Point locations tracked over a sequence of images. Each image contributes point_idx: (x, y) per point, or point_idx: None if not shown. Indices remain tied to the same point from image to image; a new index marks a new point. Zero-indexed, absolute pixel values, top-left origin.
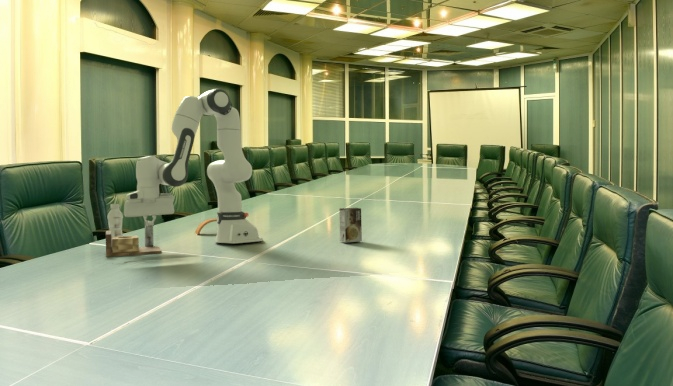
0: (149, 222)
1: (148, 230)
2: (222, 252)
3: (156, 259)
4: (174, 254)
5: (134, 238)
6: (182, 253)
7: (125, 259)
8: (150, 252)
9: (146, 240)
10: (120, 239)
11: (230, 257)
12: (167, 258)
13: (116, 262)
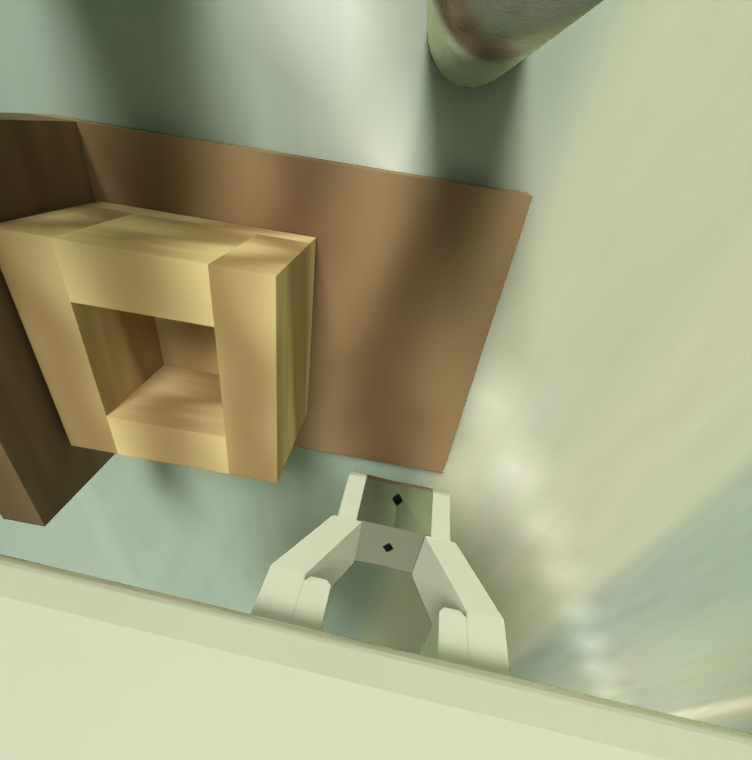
0: (373, 560)
1: (480, 45)
2: (708, 606)
3: (363, 586)
4: (483, 532)
5: (246, 473)
6: (534, 529)
7: (239, 523)
8: (374, 456)
9: (437, 51)
10: (138, 452)
11: (619, 684)
12: (410, 592)
13: (208, 559)
